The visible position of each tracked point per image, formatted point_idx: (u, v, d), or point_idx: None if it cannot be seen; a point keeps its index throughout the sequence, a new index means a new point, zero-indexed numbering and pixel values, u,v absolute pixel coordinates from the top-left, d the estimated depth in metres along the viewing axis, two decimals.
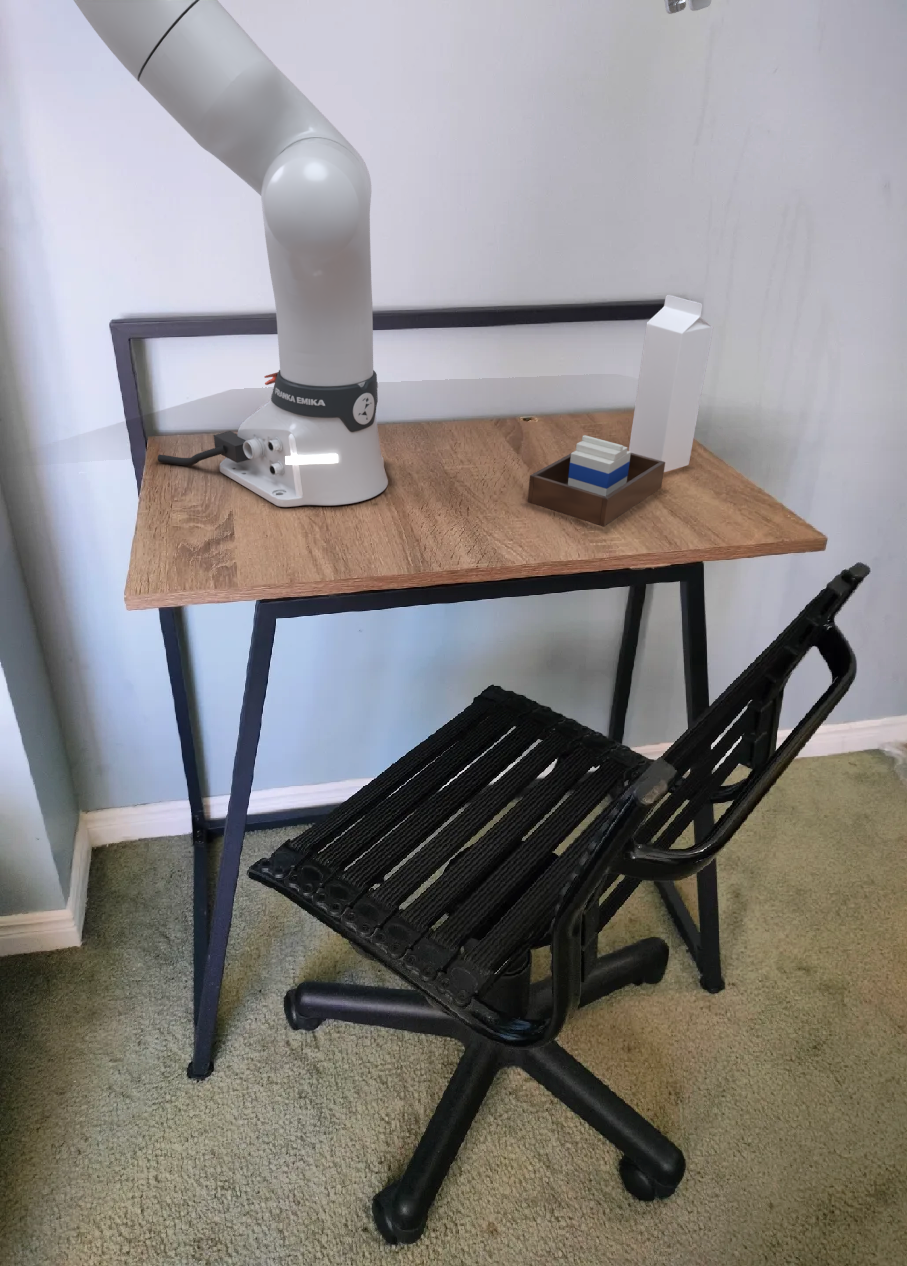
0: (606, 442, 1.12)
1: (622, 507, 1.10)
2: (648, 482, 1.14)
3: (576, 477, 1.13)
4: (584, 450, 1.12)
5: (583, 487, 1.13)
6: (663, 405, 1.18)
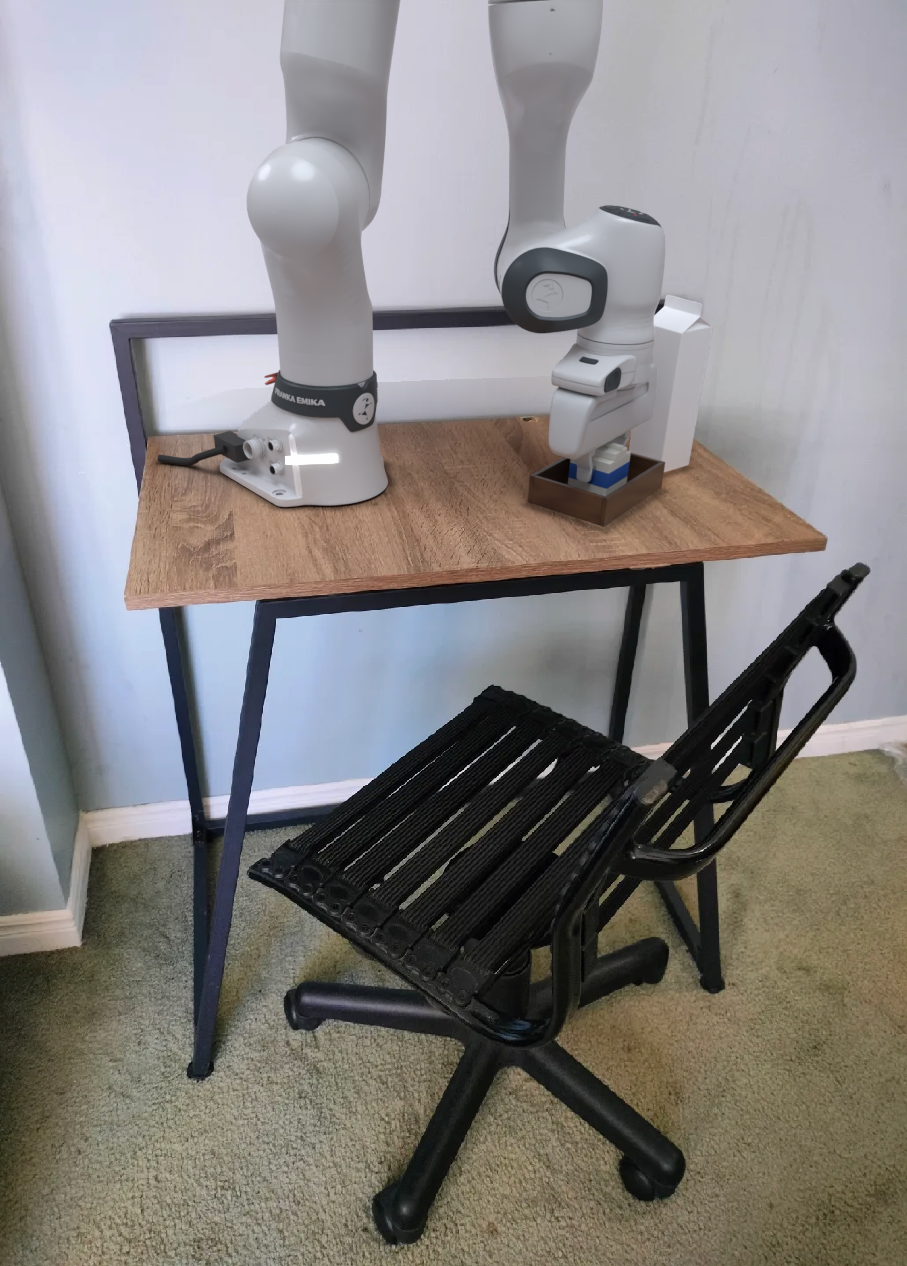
0: None
1: (622, 507, 1.10)
2: (648, 482, 1.14)
3: (576, 477, 1.13)
4: None
5: (583, 488, 1.13)
6: (663, 405, 1.18)
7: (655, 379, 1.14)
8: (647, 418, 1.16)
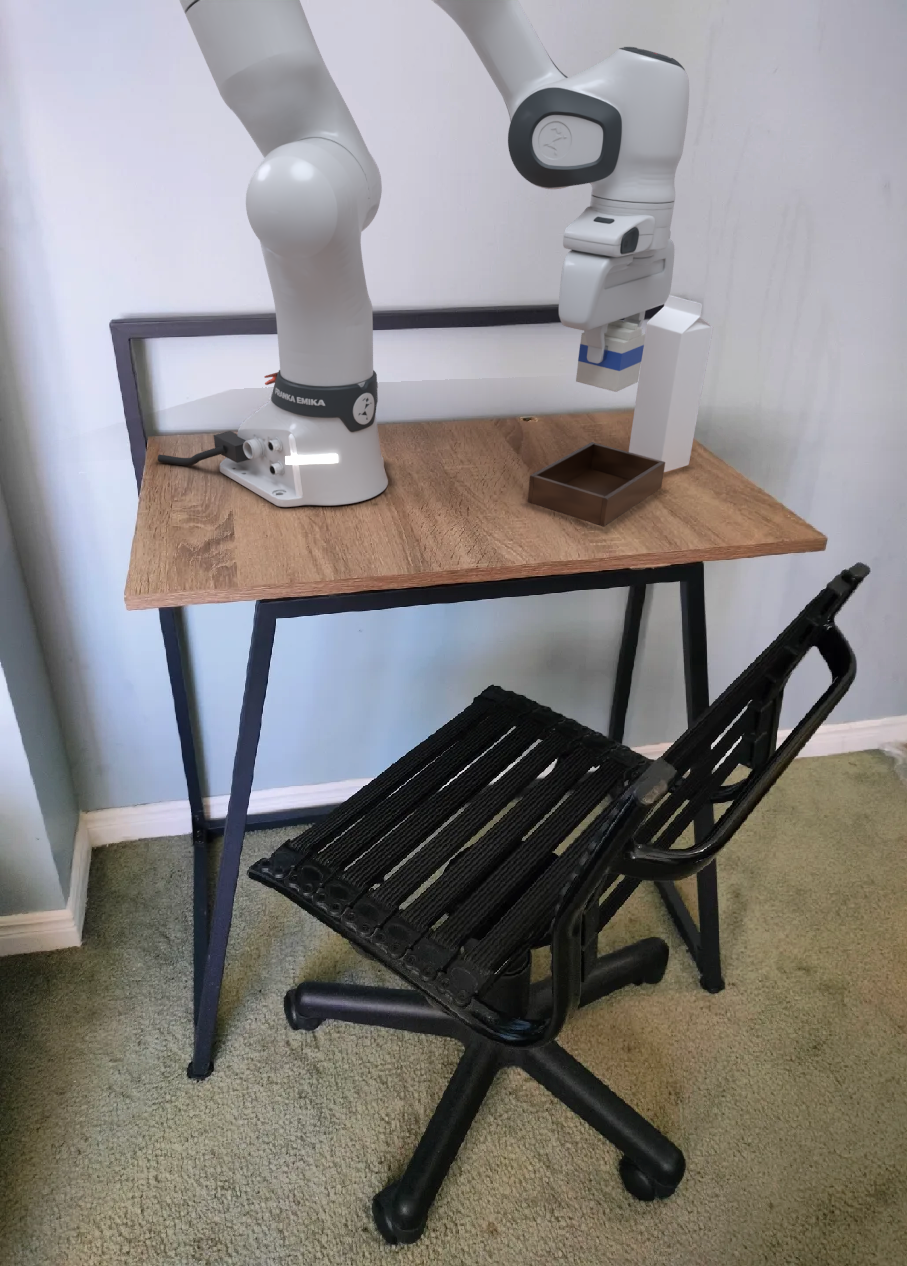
0: (619, 321, 1.04)
1: (622, 507, 1.10)
2: (648, 482, 1.14)
3: (586, 360, 1.06)
4: None
5: (594, 371, 1.06)
6: (663, 405, 1.18)
7: (672, 257, 1.06)
8: (663, 301, 1.08)
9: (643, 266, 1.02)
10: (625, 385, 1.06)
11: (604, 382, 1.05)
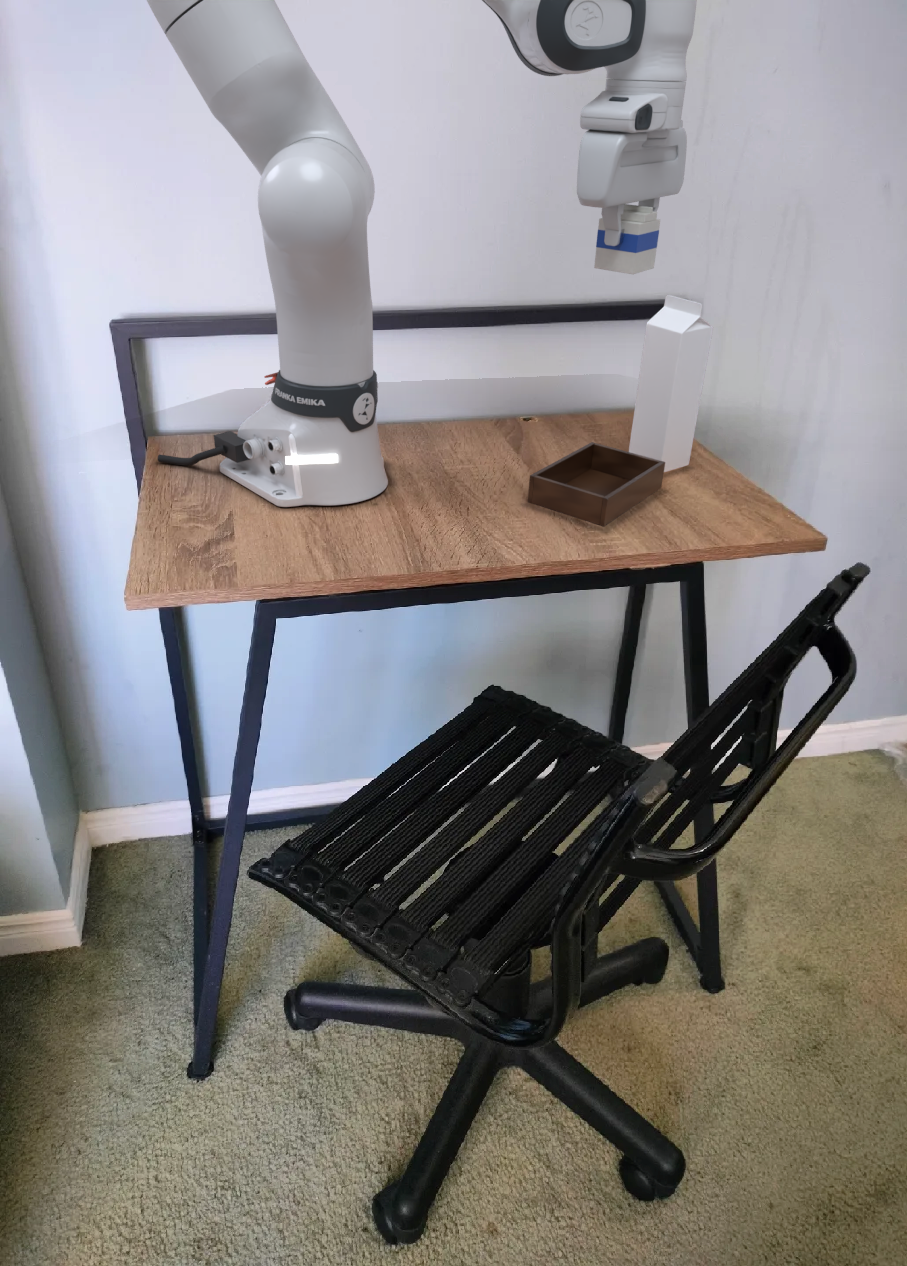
0: (635, 206, 1.09)
1: (622, 507, 1.10)
2: (648, 482, 1.14)
3: (604, 245, 1.10)
4: None
5: (612, 256, 1.10)
6: (663, 405, 1.18)
7: (685, 145, 1.11)
8: (676, 190, 1.13)
9: (657, 150, 1.07)
10: (642, 269, 1.11)
11: (621, 266, 1.10)
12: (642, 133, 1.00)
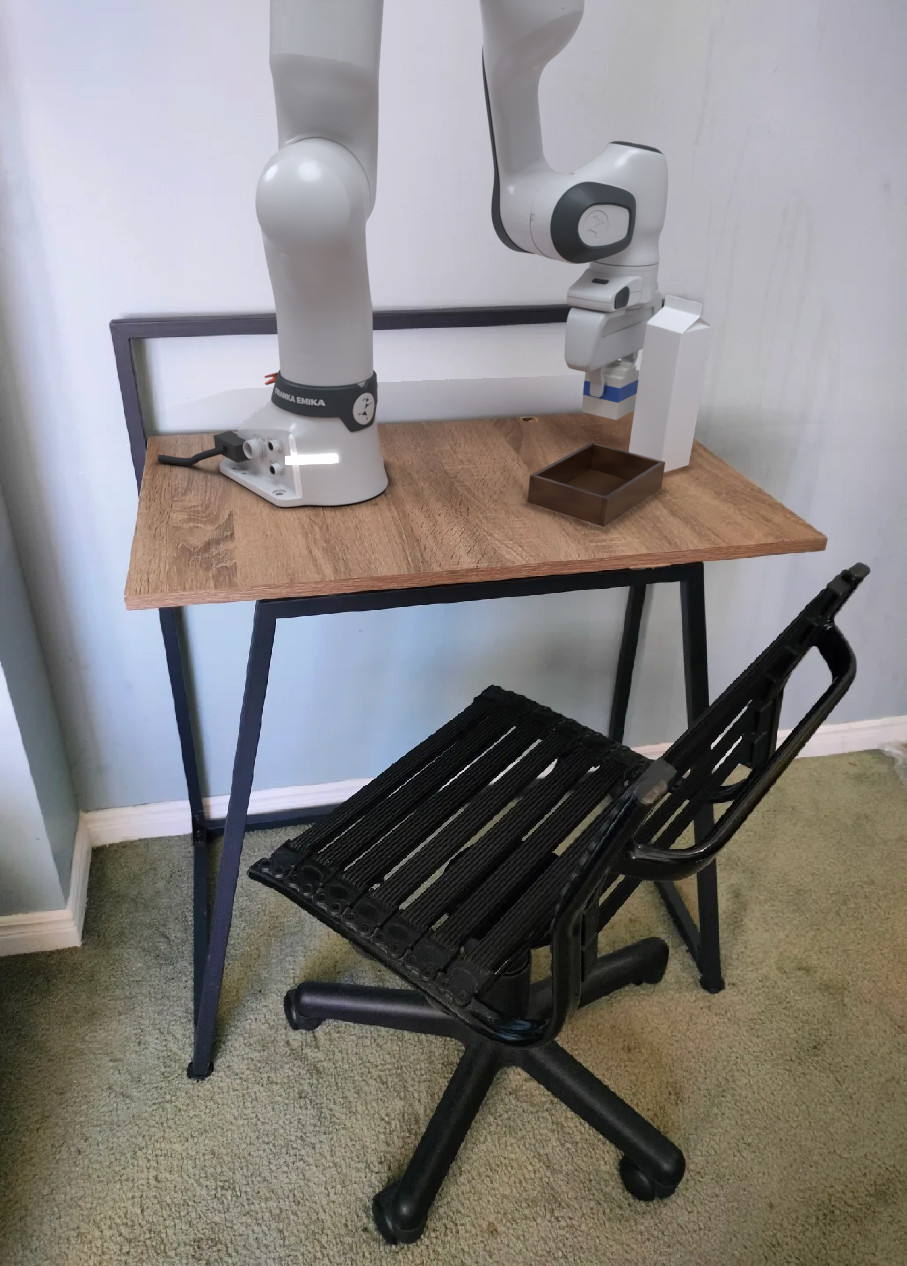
0: (617, 361, 1.23)
1: (622, 507, 1.10)
2: (648, 482, 1.14)
3: None
4: None
5: (597, 403, 1.25)
6: (663, 405, 1.18)
7: (660, 304, 1.26)
8: None
9: (635, 315, 1.21)
10: (623, 414, 1.26)
11: (605, 412, 1.25)
12: (621, 309, 1.15)
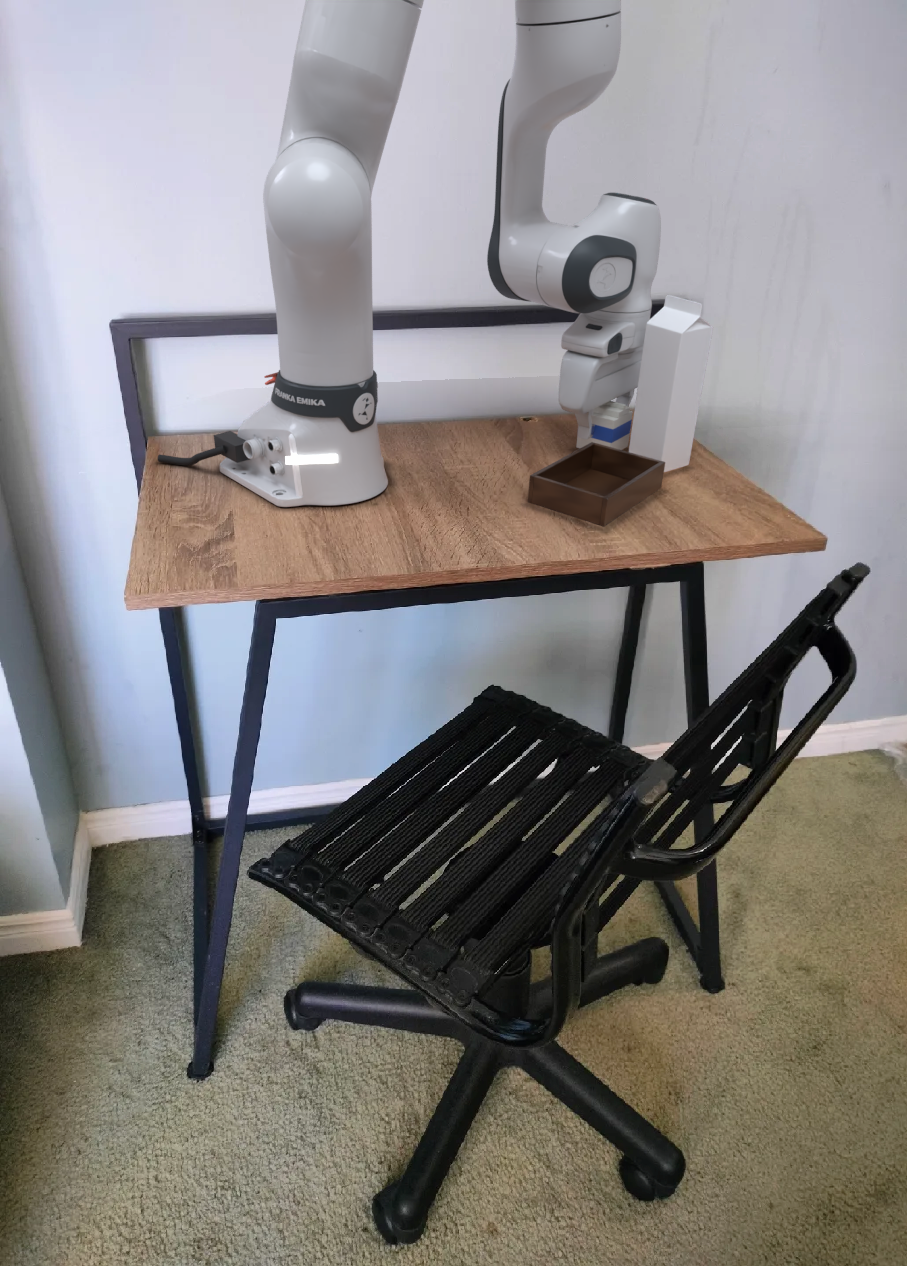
0: (611, 402, 1.26)
1: (622, 507, 1.10)
2: (648, 482, 1.14)
3: None
4: None
5: None
6: (663, 405, 1.18)
7: None
8: None
9: None
10: None
11: None
12: (614, 353, 1.18)
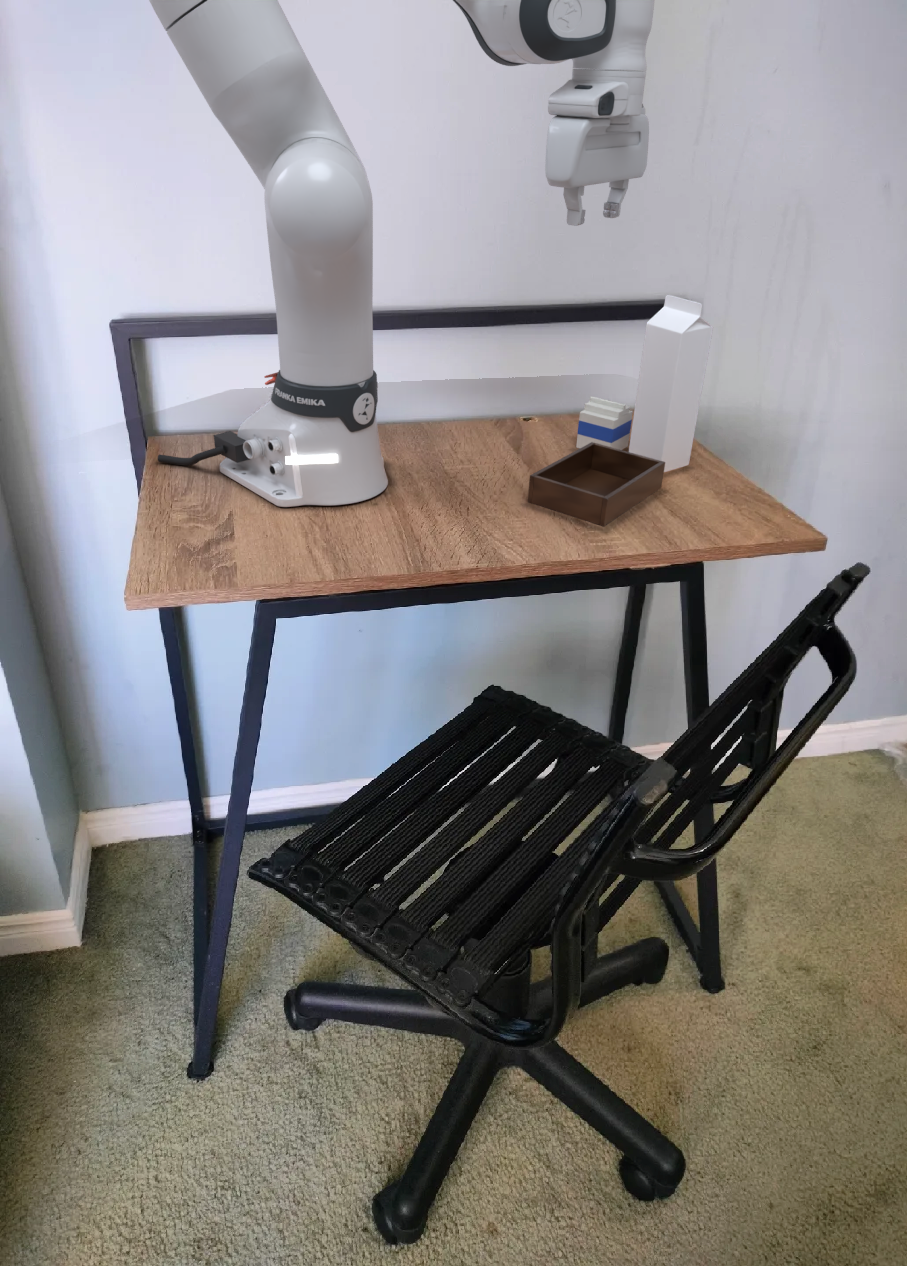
0: (611, 402, 1.26)
1: (622, 507, 1.10)
2: (648, 482, 1.14)
3: (584, 433, 1.28)
4: (591, 409, 1.27)
5: None
6: (663, 405, 1.18)
7: (647, 131, 1.19)
8: (640, 173, 1.21)
9: (620, 135, 1.15)
10: None
11: None
12: (605, 118, 1.09)
